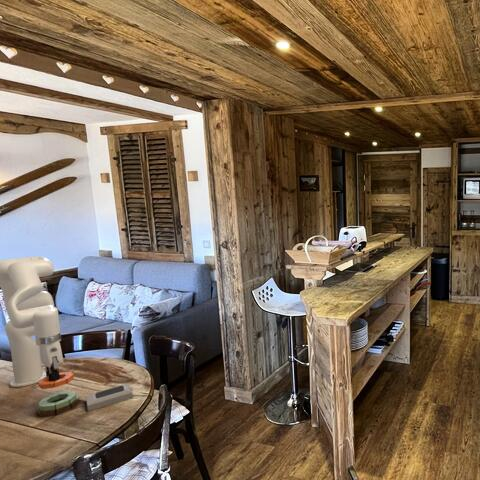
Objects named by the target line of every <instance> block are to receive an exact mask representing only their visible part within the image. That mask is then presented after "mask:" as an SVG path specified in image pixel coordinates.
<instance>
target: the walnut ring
mask: <svg viewBox="0 0 480 480" xmlns="http://www.w3.org/2000/svg"><path fill="white" fill-rule="evenodd" d="M64 399H65V398H62V399H57V400H55V401H52V402H50V403H54V402H58V401H61V400H64ZM79 403H80V398H79V396H77V399H75V400H74V401H73V402H72V403H71V404H69V405H66V406H64V407H61V408H59V409H55V410H48V411H43V410H42V411H41V410H40V409H39V408H38V406H37V407H36V413H37V415H39V417H42V418H44V417H52V416H58V415H60V414H62V413H66V412H69V411H71V410H72V409H73V408H75V407H76V406H77V405H78V404H79Z"/></svg>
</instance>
